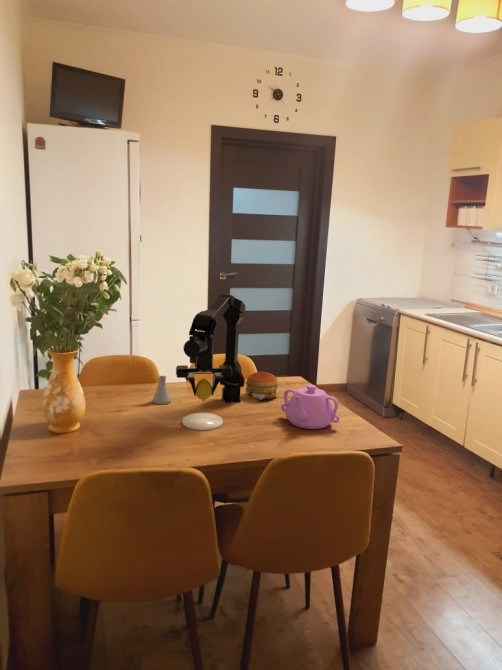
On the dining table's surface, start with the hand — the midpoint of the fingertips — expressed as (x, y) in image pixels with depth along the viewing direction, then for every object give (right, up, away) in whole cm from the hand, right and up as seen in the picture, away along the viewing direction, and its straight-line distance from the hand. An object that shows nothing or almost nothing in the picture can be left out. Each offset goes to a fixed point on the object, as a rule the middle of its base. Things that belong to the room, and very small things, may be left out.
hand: (203, 395), depth 180 cm
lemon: (0, -2, 0) cm, 2 cm away
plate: (-1, -10, +2) cm, 10 cm away
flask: (-18, -5, +21) cm, 28 cm away
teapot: (+36, -11, +5) cm, 38 cm away
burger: (+20, -4, +33) cm, 40 cm away
